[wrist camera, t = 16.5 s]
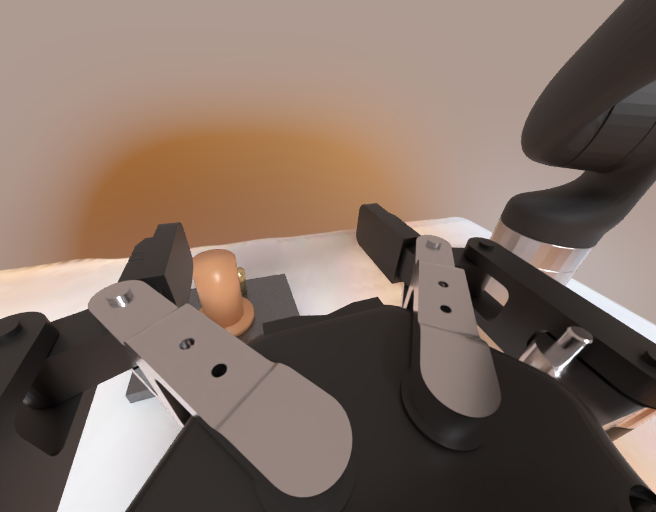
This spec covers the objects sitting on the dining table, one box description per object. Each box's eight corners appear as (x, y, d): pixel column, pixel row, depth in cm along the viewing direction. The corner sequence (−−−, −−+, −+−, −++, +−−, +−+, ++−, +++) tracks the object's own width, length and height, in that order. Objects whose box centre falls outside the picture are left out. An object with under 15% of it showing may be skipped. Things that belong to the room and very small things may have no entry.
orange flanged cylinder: (251, 296, 39) (243, 240, 34) (257, 333, 34) (249, 273, 28) (198, 306, 37) (180, 248, 32) (194, 347, 31) (172, 285, 26)
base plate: (284, 280, 46) (283, 255, 43) (310, 353, 33) (311, 324, 30) (157, 302, 39) (146, 274, 36) (130, 403, 27) (109, 373, 24)
